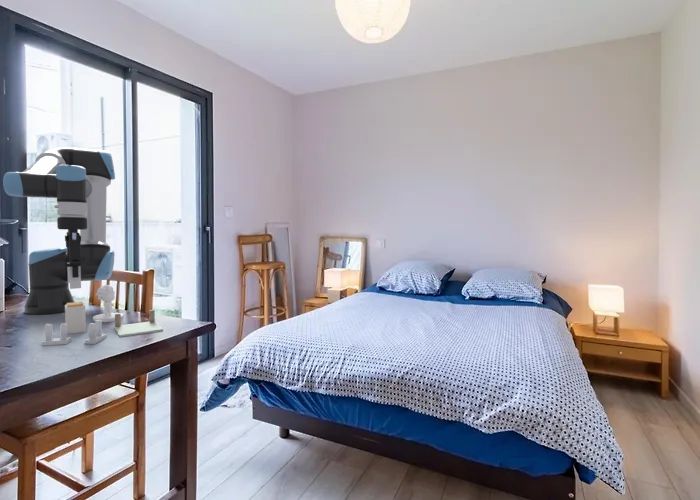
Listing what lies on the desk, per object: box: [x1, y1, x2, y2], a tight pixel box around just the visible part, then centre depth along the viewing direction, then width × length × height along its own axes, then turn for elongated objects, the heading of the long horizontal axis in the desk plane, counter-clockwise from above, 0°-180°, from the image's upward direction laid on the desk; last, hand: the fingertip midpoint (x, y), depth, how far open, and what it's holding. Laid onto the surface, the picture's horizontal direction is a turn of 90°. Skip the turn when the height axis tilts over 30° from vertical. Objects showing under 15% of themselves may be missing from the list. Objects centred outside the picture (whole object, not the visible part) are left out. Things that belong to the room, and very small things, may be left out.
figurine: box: [92, 284, 125, 323], centre depth 137 cm, size 9×9×12 cm
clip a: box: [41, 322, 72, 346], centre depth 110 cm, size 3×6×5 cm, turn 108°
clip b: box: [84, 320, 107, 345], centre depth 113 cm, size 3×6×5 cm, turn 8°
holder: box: [113, 309, 164, 338], centre depth 125 cm, size 12×12×5 cm
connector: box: [64, 301, 87, 334], centre depth 123 cm, size 5×5×9 cm
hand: (74, 285), depth 121 cm, fingers open, 13 cm apart
